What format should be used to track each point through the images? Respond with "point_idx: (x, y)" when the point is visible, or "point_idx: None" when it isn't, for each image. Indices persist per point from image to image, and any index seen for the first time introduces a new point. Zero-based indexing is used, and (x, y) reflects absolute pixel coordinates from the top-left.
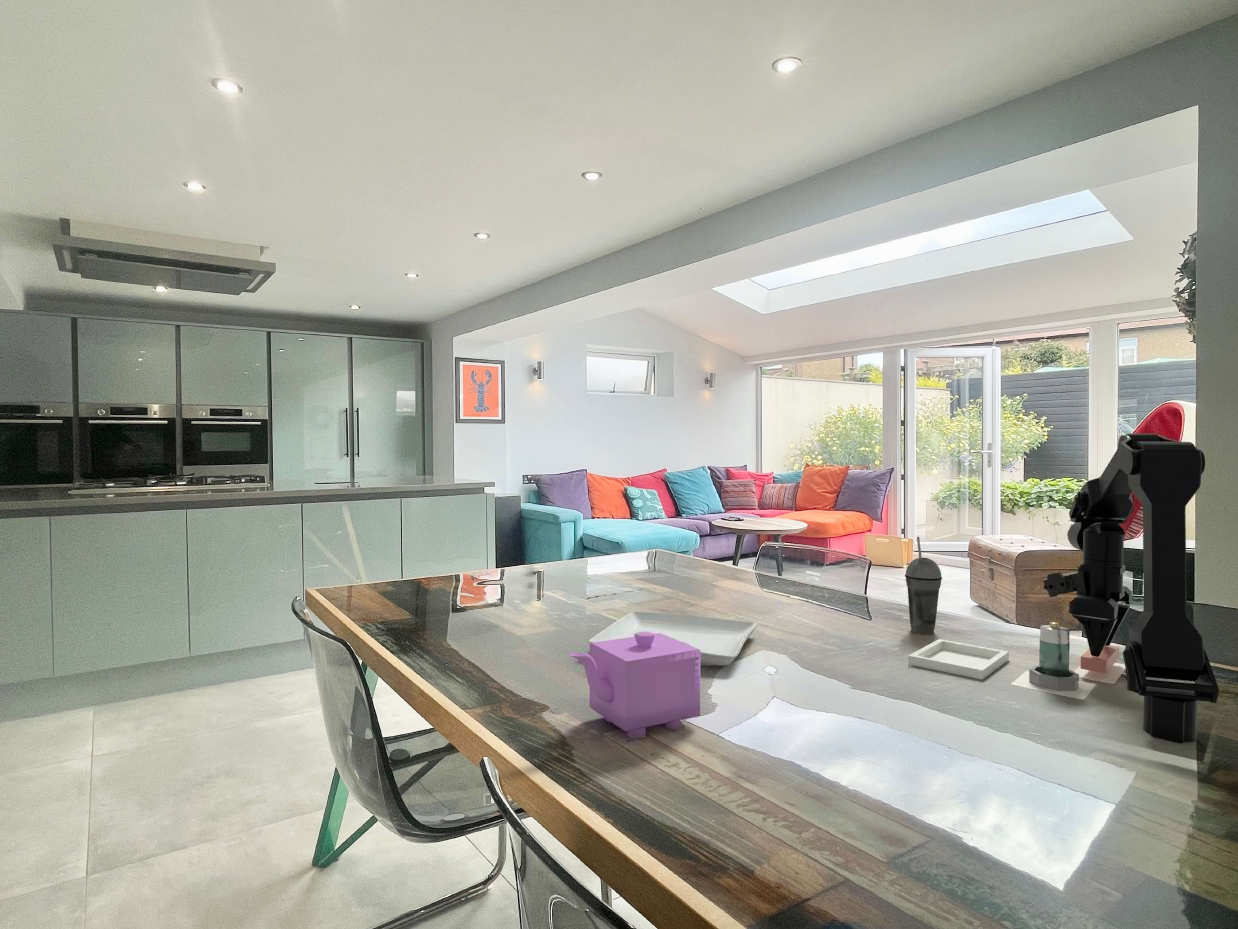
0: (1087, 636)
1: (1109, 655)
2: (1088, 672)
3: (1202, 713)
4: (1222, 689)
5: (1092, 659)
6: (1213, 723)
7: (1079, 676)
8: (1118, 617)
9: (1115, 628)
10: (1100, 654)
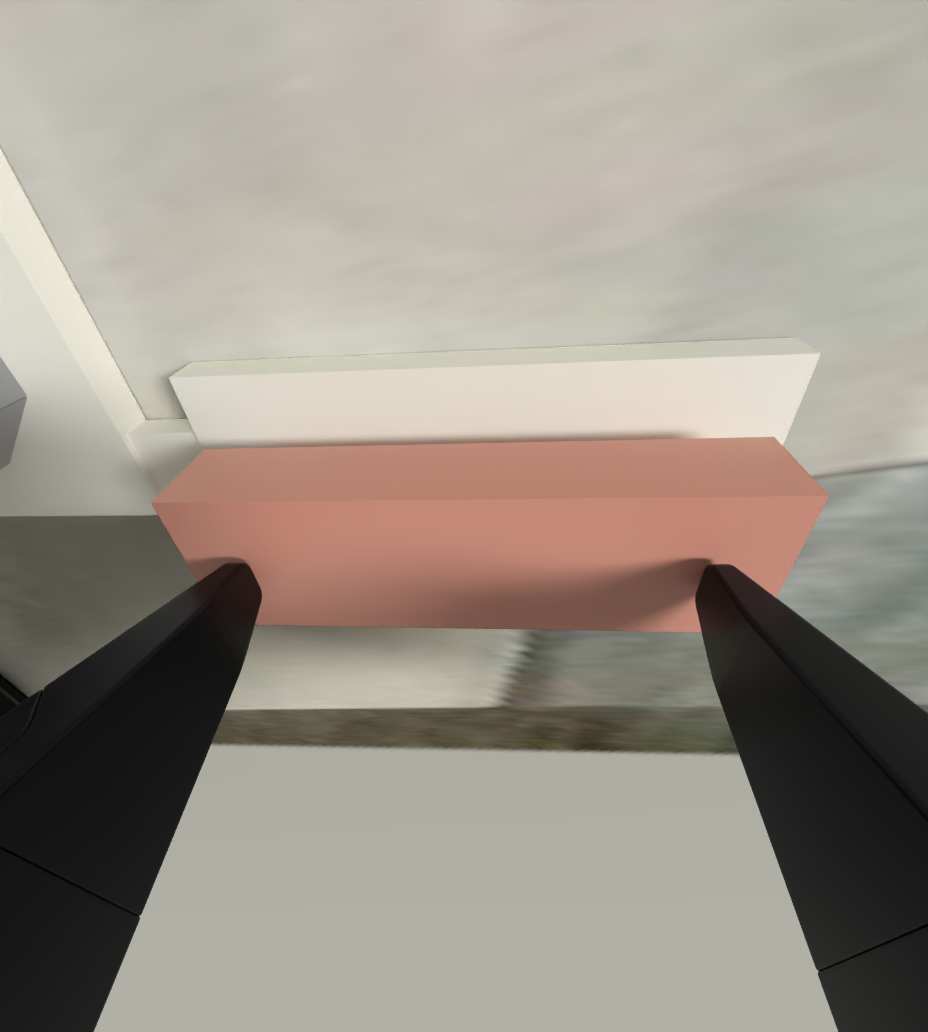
0: (42, 699)
1: (393, 621)
2: (355, 444)
3: (286, 717)
4: (620, 745)
5: (190, 561)
6: (222, 730)
7: (211, 423)
8: (846, 974)
9: (765, 793)
10: (369, 583)
